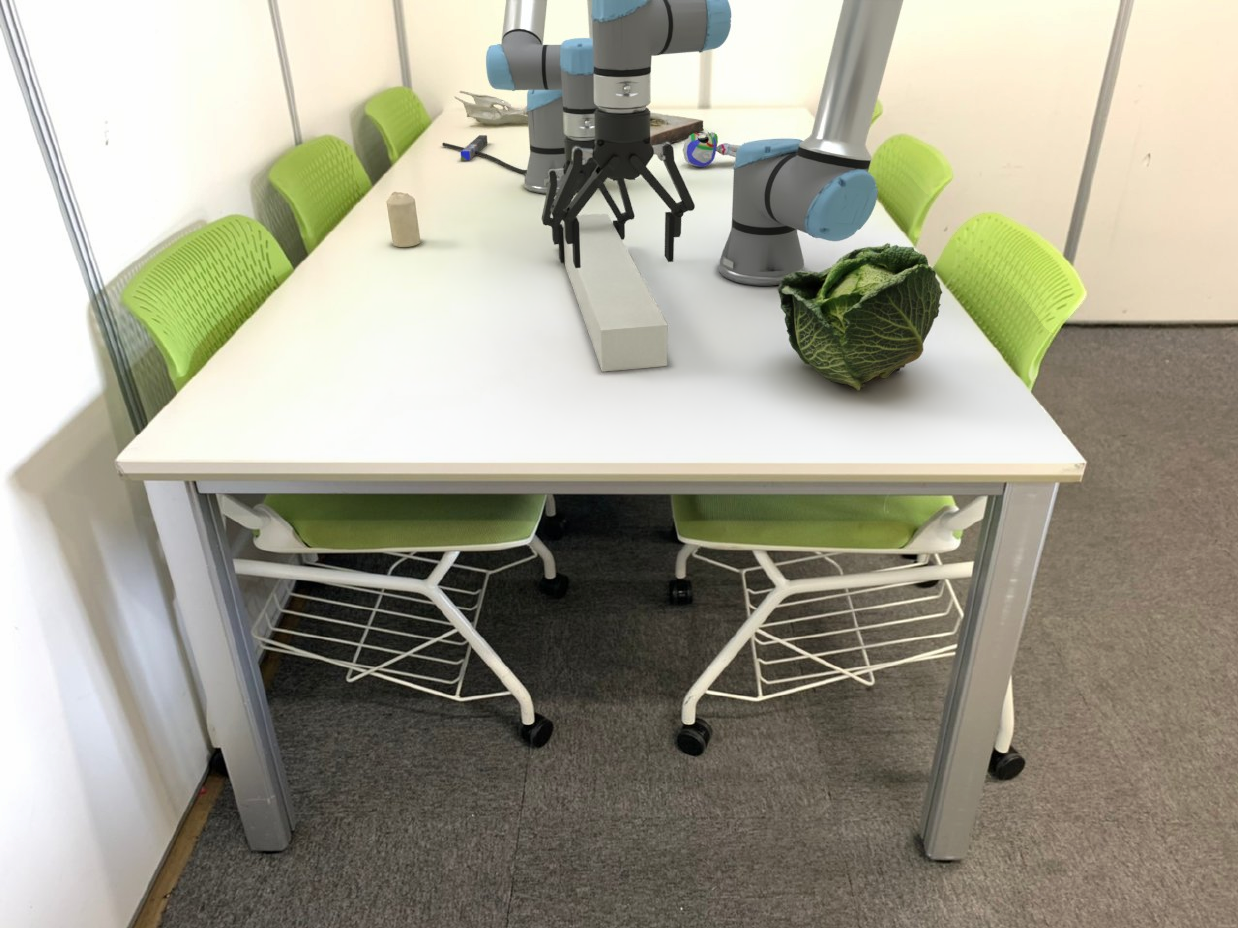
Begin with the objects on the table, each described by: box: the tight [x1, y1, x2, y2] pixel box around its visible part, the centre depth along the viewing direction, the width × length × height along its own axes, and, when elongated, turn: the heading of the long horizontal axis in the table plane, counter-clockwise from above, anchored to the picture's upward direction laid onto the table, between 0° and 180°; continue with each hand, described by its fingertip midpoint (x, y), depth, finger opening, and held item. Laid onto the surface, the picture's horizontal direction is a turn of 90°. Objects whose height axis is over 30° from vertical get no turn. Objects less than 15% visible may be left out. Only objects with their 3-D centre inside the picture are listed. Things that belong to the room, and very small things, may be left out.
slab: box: [560, 213, 669, 373], centre depth 152 cm, size 55×10×7 cm, turn 10°
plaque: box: [650, 112, 705, 145], centre depth 257 cm, size 30×7×30 cm
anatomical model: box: [454, 90, 528, 126], centre depth 274 cm, size 15×9×25 cm
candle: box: [385, 191, 421, 248], centre depth 178 cm, size 6×6×10 cm
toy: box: [682, 131, 746, 168], centre depth 228 cm, size 10×8×30 cm
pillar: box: [460, 134, 489, 162], centre depth 244 cm, size 2×2×20 cm
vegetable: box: [777, 242, 943, 392], centre depth 124 cm, size 20×19×20 cm
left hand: (589, 258), depth 170 cm, fingers closed on slab, 10 cm apart
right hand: (623, 262), depth 130 cm, fingers open, 13 cm apart
